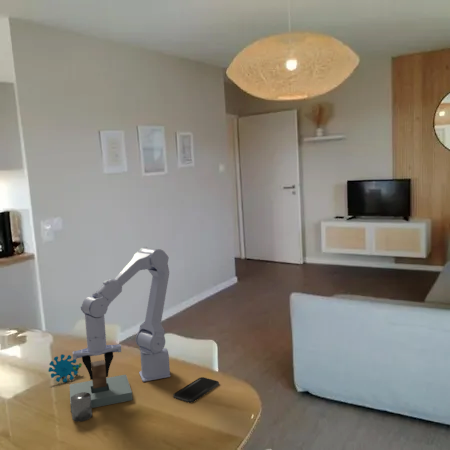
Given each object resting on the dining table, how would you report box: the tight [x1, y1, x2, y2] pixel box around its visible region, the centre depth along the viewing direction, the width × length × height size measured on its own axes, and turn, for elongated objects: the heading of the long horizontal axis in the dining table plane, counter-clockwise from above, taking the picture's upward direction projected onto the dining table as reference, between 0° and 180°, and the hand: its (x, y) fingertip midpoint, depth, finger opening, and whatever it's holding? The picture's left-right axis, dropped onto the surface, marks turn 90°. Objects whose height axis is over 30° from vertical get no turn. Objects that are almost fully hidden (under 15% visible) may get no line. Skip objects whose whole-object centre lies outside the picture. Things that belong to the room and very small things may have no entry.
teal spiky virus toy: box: [48, 354, 83, 383], centre depth 162 cm, size 11×6×10 cm
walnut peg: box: [91, 359, 107, 389], centre depth 146 cm, size 4×4×7 cm
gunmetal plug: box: [70, 392, 93, 423], centre depth 134 cm, size 6×6×6 cm
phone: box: [173, 376, 220, 404], centre depth 147 cm, size 8×1×15 cm
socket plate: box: [69, 374, 133, 413], centre depth 146 cm, size 18×14×2 cm
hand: (99, 377), depth 146 cm, fingers closed on walnut peg, 4 cm apart
